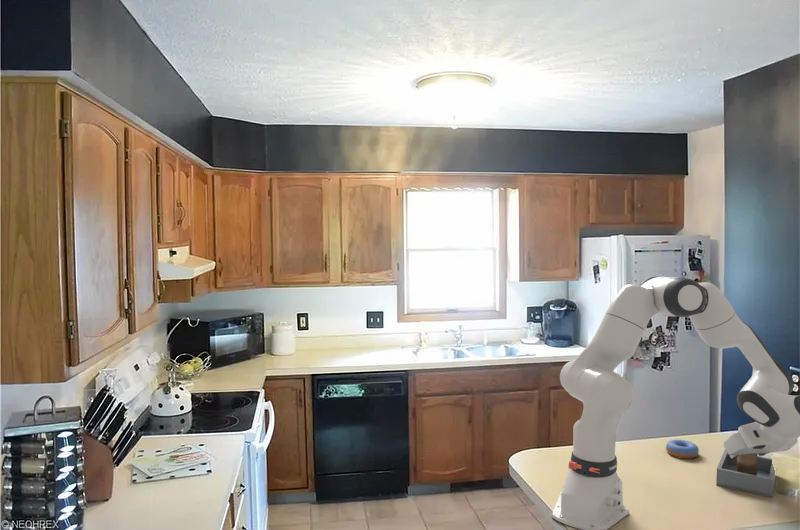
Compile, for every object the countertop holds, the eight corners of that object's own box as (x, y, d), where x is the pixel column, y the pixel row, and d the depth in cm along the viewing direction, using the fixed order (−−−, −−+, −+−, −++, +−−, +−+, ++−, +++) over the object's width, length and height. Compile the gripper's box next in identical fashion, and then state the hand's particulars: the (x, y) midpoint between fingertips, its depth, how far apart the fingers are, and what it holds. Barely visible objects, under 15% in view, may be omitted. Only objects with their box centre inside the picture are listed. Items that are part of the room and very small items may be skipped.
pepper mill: (755, 482, 171) (757, 445, 170) (735, 478, 174) (736, 442, 173) (757, 476, 175) (758, 440, 175) (737, 472, 178) (738, 437, 178)
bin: (772, 497, 163) (772, 480, 163) (716, 485, 172) (716, 468, 171) (776, 475, 178) (776, 459, 178) (724, 464, 186) (724, 449, 186)
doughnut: (705, 459, 190) (704, 445, 190) (674, 461, 190) (673, 447, 191) (690, 450, 200) (689, 437, 200) (661, 452, 200) (660, 439, 200)
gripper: (798, 421, 168) (770, 442, 179) (735, 426, 165) (710, 446, 175) (810, 442, 164) (781, 462, 175) (746, 447, 161) (720, 467, 171)
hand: (745, 454), depth 175 cm, fingers open, 8 cm apart
